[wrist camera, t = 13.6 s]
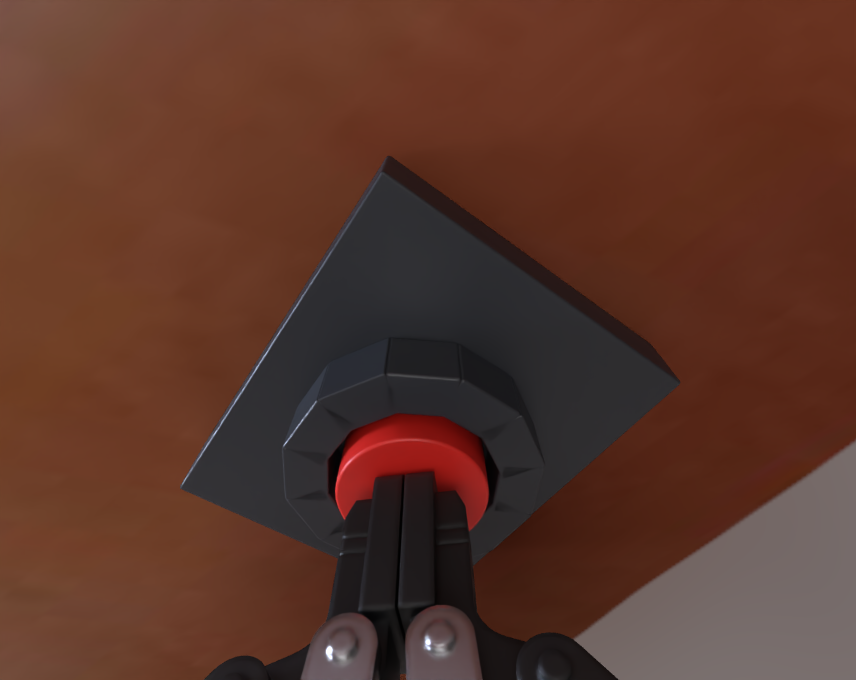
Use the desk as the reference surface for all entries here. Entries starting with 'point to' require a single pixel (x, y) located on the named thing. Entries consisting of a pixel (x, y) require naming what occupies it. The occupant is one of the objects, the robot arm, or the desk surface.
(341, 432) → the button base
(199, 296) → the desk surface
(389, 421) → the button
